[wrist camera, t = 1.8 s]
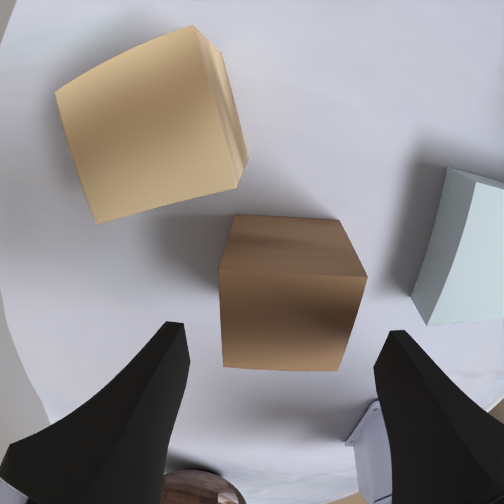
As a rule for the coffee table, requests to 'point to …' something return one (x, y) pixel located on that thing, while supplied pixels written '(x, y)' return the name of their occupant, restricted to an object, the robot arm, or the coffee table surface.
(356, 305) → the walnut cube
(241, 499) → the wooden sphere
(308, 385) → the coffee table surface
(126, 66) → the oak cube
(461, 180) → the slab
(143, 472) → the robot arm
